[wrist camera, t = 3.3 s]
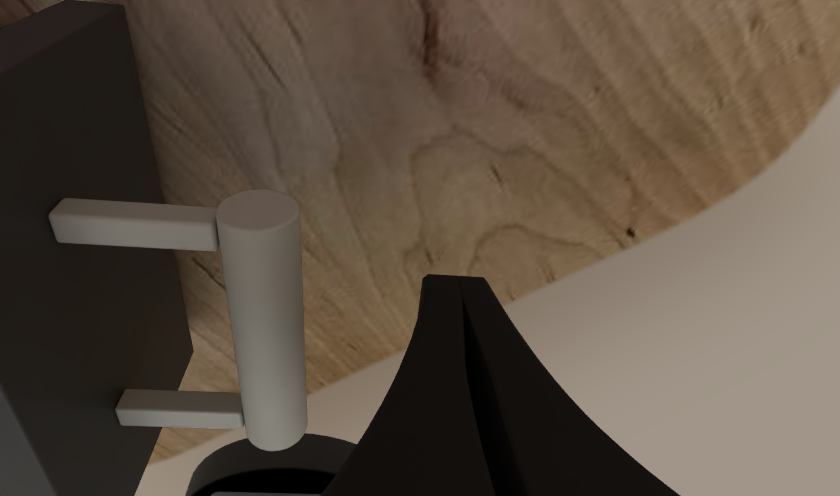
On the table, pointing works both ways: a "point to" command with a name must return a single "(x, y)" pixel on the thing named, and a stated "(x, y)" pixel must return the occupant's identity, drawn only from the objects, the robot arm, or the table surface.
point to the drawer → (120, 273)
